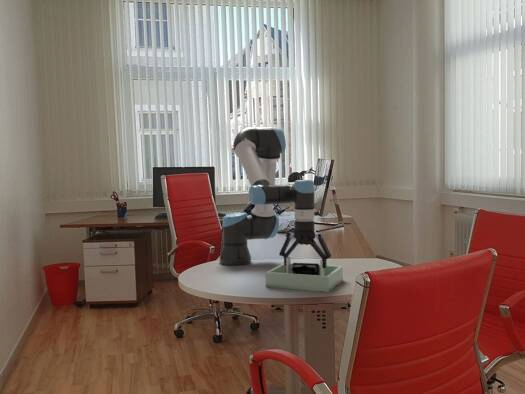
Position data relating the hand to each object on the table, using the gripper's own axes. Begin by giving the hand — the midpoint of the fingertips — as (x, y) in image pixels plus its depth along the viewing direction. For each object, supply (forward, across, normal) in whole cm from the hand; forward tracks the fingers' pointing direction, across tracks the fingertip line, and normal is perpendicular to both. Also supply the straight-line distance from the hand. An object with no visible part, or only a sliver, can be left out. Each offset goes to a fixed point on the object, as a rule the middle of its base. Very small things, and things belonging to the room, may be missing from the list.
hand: (305, 275), depth 195 cm
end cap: (+2, 0, 0) cm, 2 cm away
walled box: (+3, 0, 0) cm, 3 cm away
